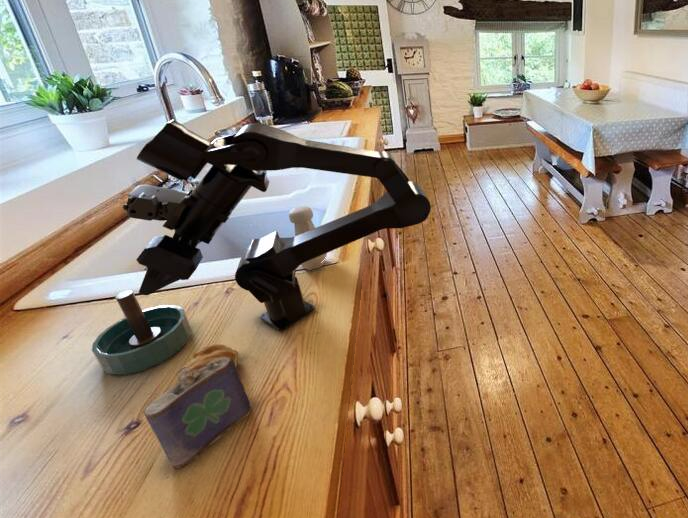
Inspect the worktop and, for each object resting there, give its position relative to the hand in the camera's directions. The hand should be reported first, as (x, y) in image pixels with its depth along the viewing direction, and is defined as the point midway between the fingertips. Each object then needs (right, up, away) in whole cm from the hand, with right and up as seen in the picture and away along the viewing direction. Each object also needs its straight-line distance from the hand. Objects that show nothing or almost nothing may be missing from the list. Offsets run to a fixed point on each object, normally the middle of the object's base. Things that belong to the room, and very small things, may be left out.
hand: (155, 276), depth 62 cm
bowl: (-4, -12, +4) cm, 13 cm away
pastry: (+11, -15, -3) cm, 18 cm away
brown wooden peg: (-4, -12, +3) cm, 13 cm away
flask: (+16, -18, -10) cm, 26 cm away
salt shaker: (+13, -3, +24) cm, 28 cm away
